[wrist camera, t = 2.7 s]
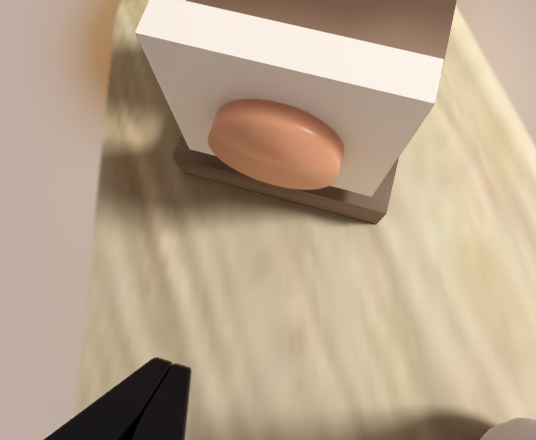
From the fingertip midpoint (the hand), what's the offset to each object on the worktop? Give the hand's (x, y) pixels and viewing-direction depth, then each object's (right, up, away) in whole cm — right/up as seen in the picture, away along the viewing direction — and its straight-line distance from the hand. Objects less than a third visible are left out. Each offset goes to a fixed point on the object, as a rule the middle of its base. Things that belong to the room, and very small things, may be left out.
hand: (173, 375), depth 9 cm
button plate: (+3, +6, +11) cm, 13 cm away
